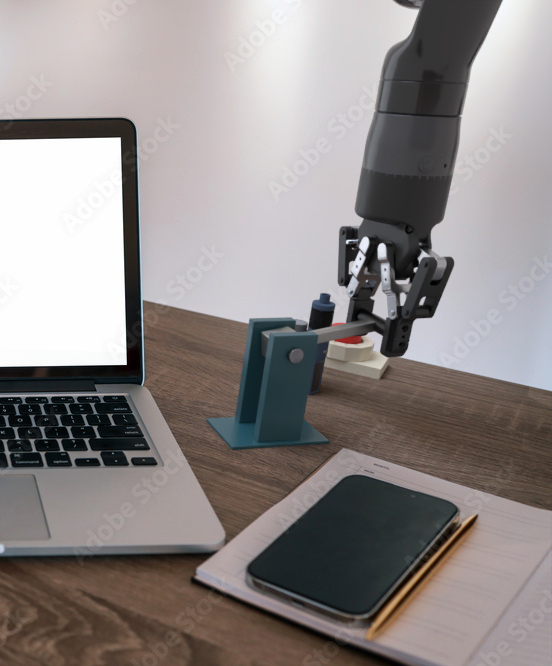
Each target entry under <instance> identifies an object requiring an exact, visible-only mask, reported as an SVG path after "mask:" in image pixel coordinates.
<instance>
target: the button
mask: <svg viewBox="0 0 552 666" xmlns="http://www.w3.org/2000/svg"><path fill="white" fill-rule="evenodd" d="M345 323H346V322H334V323H332V326H336V325H341V324H345ZM361 338H362V336H351V337H347V338H342V339H337V340H334V341H336V342H340V343H345V344H360V343H361Z"/></svg>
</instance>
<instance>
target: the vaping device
mask: <svg viewBox="0 0 552 666" xmlns="http://www.w3.org/2000/svg"><path fill="white" fill-rule="evenodd" d="M331 296H332V295H331V294H330V293H327V292H320V294H319V298H318V299H314V300H312V302H311V308H310V313H309V314H310V315H309V318H308V321H306V320H303V319H297V318H293V319H294V320H296V325H295V331H296V332H308V331H312V330H317V329H322V328H327V327H331V326H332V324H333V320H334V316H335V315H334V314H335V309H336V303H335V302H333V301H331ZM328 346H329V341H328V342H323V343H319V344H317V347H316V353H315V358H314V364H313V369H312V375H311V381H310V386H309V392H308V396H311V395H312V394H315V393H318V392H320V389H321V385H322V379H323V374H324V369H325V367H324V363H325V358H326V356H327V352H328Z"/></svg>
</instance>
